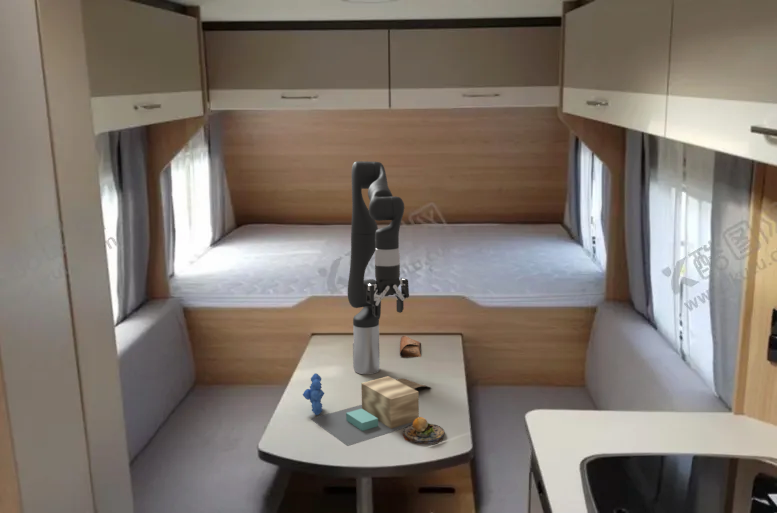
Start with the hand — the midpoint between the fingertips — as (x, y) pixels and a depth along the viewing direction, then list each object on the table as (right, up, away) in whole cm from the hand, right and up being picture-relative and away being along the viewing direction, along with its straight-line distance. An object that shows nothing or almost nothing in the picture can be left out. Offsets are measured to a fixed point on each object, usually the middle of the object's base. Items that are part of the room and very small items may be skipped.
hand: (388, 314), depth 213 cm
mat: (-7, -32, -5) cm, 33 cm away
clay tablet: (+6, -28, +19) cm, 34 cm away
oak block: (+1, -31, -1) cm, 31 cm away
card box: (-8, -29, -7) cm, 31 cm away
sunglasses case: (+9, -20, +60) cm, 64 cm away
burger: (+10, -34, -15) cm, 38 cm away
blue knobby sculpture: (-23, -31, +3) cm, 38 cm away
